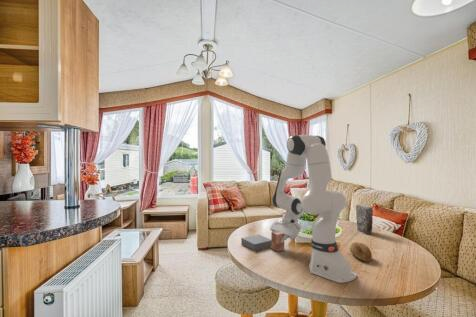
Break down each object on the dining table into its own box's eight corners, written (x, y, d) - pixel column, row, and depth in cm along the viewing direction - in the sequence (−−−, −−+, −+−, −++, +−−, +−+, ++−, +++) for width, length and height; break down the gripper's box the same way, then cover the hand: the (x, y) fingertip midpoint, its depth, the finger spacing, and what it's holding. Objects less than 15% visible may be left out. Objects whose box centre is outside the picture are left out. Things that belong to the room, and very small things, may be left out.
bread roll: (358, 263, 135) (358, 248, 135) (345, 252, 150) (345, 239, 150) (376, 263, 135) (376, 248, 135) (361, 252, 150) (361, 239, 150)
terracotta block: (284, 249, 153) (284, 233, 153) (277, 251, 150) (277, 234, 150) (278, 246, 157) (278, 230, 157) (271, 248, 154) (271, 232, 154)
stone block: (354, 229, 197) (354, 204, 197) (362, 229, 198) (362, 203, 198) (366, 234, 184) (366, 207, 184) (374, 234, 185) (374, 207, 185)
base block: (272, 246, 159) (272, 240, 159) (254, 251, 152) (254, 244, 152) (258, 240, 171) (258, 234, 171) (241, 244, 163) (241, 238, 163)
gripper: (275, 215, 166) (263, 233, 161) (298, 222, 149) (286, 241, 144) (280, 221, 169) (268, 238, 163) (303, 228, 151) (291, 248, 146)
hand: (277, 240), depth 153 cm, fingers closed on terracotta block, 5 cm apart
